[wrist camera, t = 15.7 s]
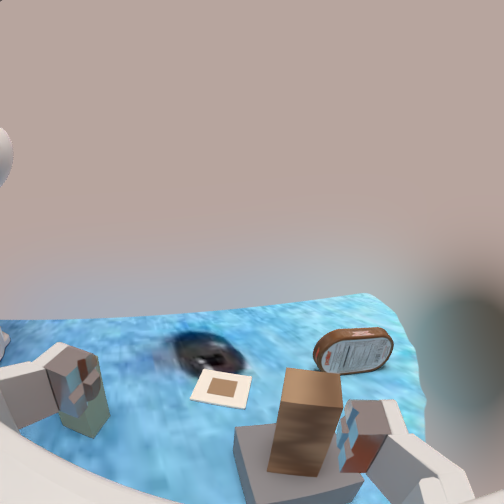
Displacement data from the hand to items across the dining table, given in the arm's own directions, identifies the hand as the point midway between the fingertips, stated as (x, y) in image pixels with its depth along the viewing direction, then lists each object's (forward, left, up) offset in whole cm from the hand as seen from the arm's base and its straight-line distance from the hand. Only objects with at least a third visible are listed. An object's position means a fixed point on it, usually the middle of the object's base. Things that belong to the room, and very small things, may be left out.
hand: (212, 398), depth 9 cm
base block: (+2, +16, -25) cm, 29 cm away
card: (-13, +28, -25) cm, 39 cm away
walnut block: (+2, +15, -20) cm, 25 cm away
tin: (+5, +42, -25) cm, 49 cm away
